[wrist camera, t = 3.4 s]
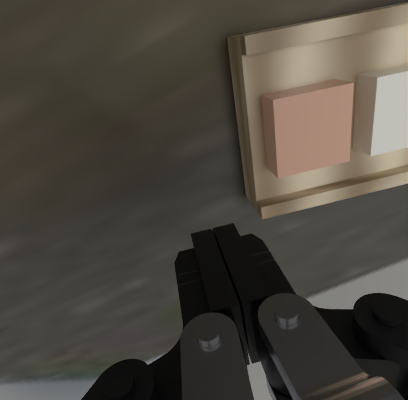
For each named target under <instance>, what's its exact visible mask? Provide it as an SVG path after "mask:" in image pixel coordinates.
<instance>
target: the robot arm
mask: <svg viewBox="0 0 408 400" xmlns="http://www.w3.org/2000/svg"><path fill="white" fill-rule="evenodd" d="M191 237H192V241H193V245H194V248H192V249H188V250H184V251H180V252H179V253H178V256H177V258H176V260H175V263H174V264H175V271H176V278H177V284H178V292H179V299H180V306H181V313H182V319H183V331H182V334H181V337H180V339H179V341H178V342H177V344H176V345H175V346H174V347H173V348H172V349H171V350H170V351H169V352H168V353H166V354H165V355H163V356H162V357H160V358H159V359H157V360H155V361H154V362H152V363H151V364H149V365H147V364H146V363H145V362H143V361H141V360H138V359H127V360H122V361H120V362H117V363H115V364H114V365H112V366H110V367H109V368H108V369H106V370H105V371H104V372H103V373H102V374H101V375H100V377H99V378H98V379H97V380H96V382H95V383H94V384H93V385H92V387H91V388H90V389H89V391H88V392H87V393H86V394H85V396H84V397H83V398H82V399H81V400H254V397H253V393H252V389H251V385H250V381H249V376H248V370H247V365H249V364H250V363H249V357H248V353H249V356H250V359H251V362H252V363H256V362H259V361H261V364H262V366H263V369H264V371H265V374H266V380H267V387H268V390H269V393H270V395H271V397H272V399H273V400H408V300H405V299H402V298H399V297H397V296H393V295H390V294H385V293H372V294H368V295H364V296H362V297H360V298H359V299H358V300H357V301H356V303H355V305H354V308H353V309H351V310H350V309H323V308H318V307H315V306H313V305H312V304H311V303H310V302H309V301H307V300H306V299H305V298H303V297H301V296H298V295H296V293H295V292H294V290H293V289H292V287H291V285H290V284H289V282H288V280H287V279H286V277H285V276H284V274H283V272H282V271H281V269H280V267H279V266H278V264H277V263H276V261H274V258H273V256H272V255H271V253H270V252H269V250H268V248H267V246H266V245H265V243H264V242H263V240H261V239H260V238H258V237H257V236H255V235H253V234H248V235H244V236H240V235H239V233H238V231H237V229H236V227H235V225H234V224H233V223H232V224H228V225H224V226H220V227H216V228H213V232H212V229H208V230H204V231H200V232H196V233H192V234H191ZM247 350H248V351H247Z"/></svg>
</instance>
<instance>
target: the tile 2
mask: <svg viewBox="0 0 408 400" xmlns="http://www.w3.org/2000/svg"><path fill="white" fill-rule="evenodd" d="M353 148H355V149H357V150H359V151H361V152H363V153H365V154H367V155H369V156H374V155H378V154H383V153H387V152H391V151H395V150H399V149H404V148H408V64H404V65H399V66H395V67H390V68H385V69H381V70H376V71H371V72H366V73H362V74H357V82H356V99H355V116H354V133H353Z"/></svg>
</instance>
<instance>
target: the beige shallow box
mask: <svg viewBox="0 0 408 400" xmlns="http://www.w3.org/2000/svg"><path fill="white" fill-rule="evenodd" d="M227 42H228V50H229V58H230V67H231V75H232V83H233V92H234V100H235V109H236V117H237V125H238V134H239V142H240V150H241V159H242V167H243V176H244V184H245V192H246V197H247V198H248V200H249V201H250V202H251V204H252V205H253V207H254V208H255V210H256V211H257V213H258V214H259V215H260V217H261V218H262V219H266V218H270V217H274V216H278V215H282V214H286V213H290V212H294V211H298V210H302V209H307V208H311V207H315V206H319V205H323V204H327V203H331V202H335V201H339V200H343V199H347V198H351V197H355V196H359V195H363V194H367V193H371V192H375V191H379V190H383V189H387V188H391V187H395V186H399V185H403V184H408V148H404V149H399V150H395V151H391V152H387V153H383V154H378V155H374V156H369V155H367V154H365V153H363V152H361V151H359V150H357V149H355V148H353V133H354V116H355V99H356V82H357V74H362V73H366V72H371V71H376V70H381V69H385V68H390V67H395V66H399V65H404V64H408V2H404V3H398V4H393V5H388V6H383V7H378V8H373V9H368V10H363V11H358V12H352V13H347V14H342V15H337V16H332V17H327V18H322V19H317V20H312V21H307V22H301V23H296V24H291V25H286V26H281V27H276V28H271V29H266V30H261V31H255V32H250V33H245V34H240V35H235V36H230V37H227ZM334 79H337V80H343V81H348V82H353V83H354V91H353V109H352V127H351V145H350V161H349V162H345V163H340V164H336V165H332V166H328V167H324V168H319V169H315V170H311V171H307V172H302V173H298V174H294V175H290V176H286V177H281V178H277V177H276V176H275V175H274V174H273V173H272V172H271V171H270V170H269V169H268V168H267V162H266V149H265V137H264V124H263V111H262V99H261V95H263V94H268V93H273V92H277V91H282V90H287V89H292V88H296V87H301V86H306V85H310V84H315V83H320V82H324V81H329V80H334Z"/></svg>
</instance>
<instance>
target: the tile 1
mask: <svg viewBox="0 0 408 400" xmlns="http://www.w3.org/2000/svg"><path fill="white" fill-rule="evenodd" d="M353 91H354V83H353V82H348V81H343V80H337V79H334V80H329V81H324V82H320V83H315V84H310V85H306V86H301V87H296V88H292V89H287V90H282V91H277V92H273V93H268V94H263V95H261V99H262V111H263V124H264V137H265V149H266V162H267V168H268V169H269V170H270V171H271V172H272V173H273V174H274V175H275V176H276V177H277V178H281V177H286V176H290V175H294V174H298V173H302V172H307V171H311V170H315V169H319V168H324V167H328V166H332V165H336V164H340V163H345V162H349V161H350V145H351V127H352V109H353Z"/></svg>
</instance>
